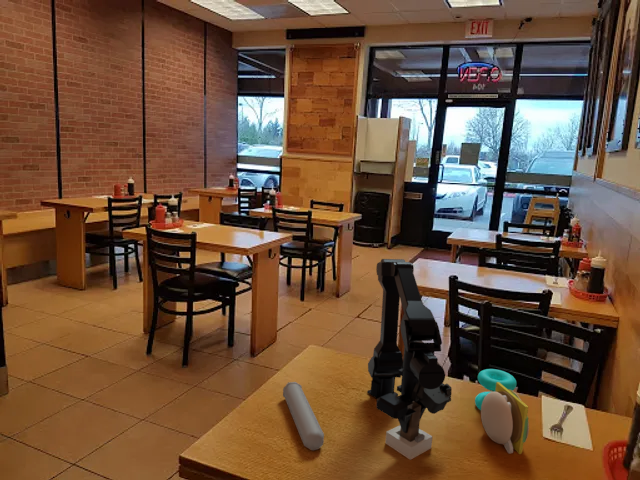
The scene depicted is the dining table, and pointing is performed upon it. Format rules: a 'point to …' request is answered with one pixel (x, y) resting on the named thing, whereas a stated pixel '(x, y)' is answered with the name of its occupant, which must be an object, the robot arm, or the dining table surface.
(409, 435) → the dark brown wooden beam
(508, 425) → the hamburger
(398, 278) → the robot arm
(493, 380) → the donuts
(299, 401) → the tube
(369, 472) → the dining table surface
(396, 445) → the white square frame
